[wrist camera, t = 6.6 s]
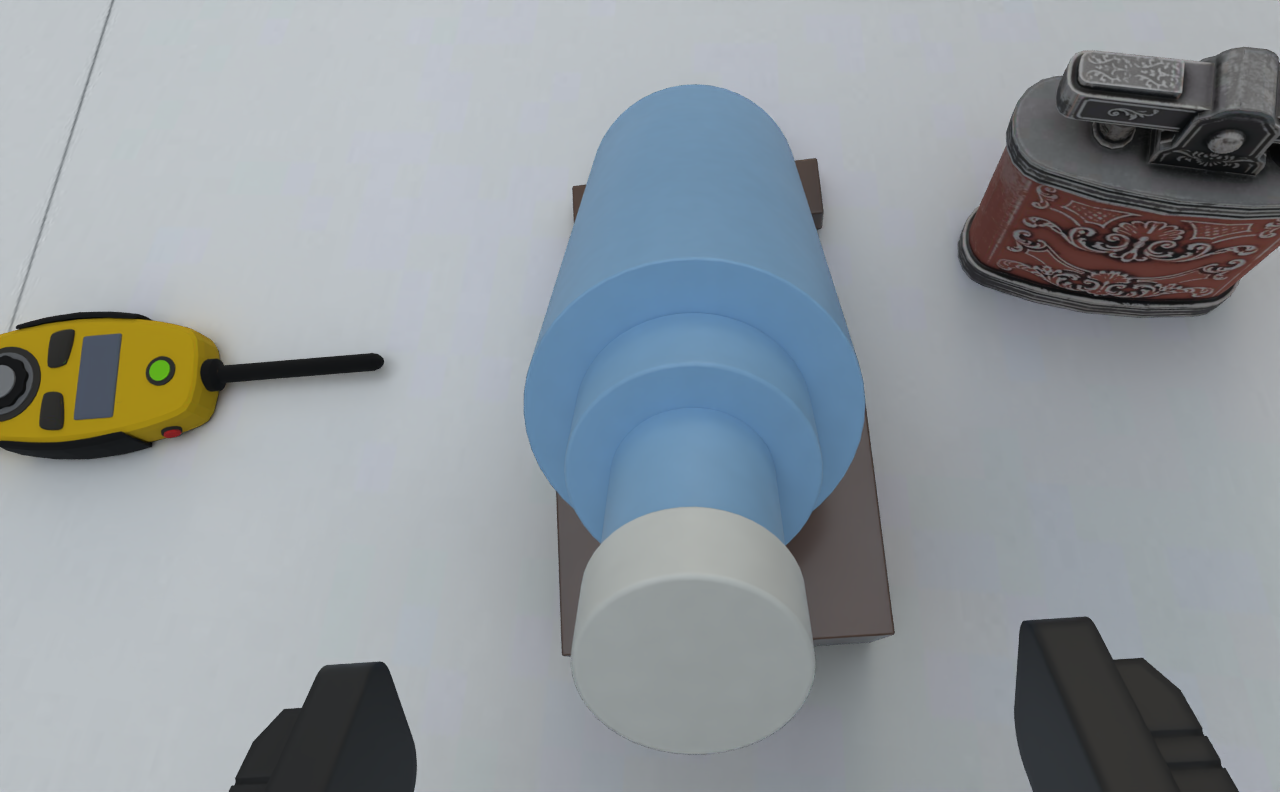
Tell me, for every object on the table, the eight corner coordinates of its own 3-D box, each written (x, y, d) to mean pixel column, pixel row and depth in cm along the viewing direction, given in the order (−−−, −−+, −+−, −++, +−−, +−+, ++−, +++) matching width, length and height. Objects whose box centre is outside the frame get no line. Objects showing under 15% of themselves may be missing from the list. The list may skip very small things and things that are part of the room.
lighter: (1232, 231, 30) (1443, 28, 21) (1225, 333, 30) (1441, 170, 20) (964, 196, 32) (1048, -10, 22) (950, 292, 31) (1030, 122, 22)
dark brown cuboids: (815, 175, 33) (824, 77, 27) (872, 642, 29) (895, 634, 23) (578, 202, 34) (542, 112, 28) (599, 659, 29) (561, 656, 24)
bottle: (600, 171, 34) (428, -338, 17) (787, 149, 33) (807, -404, 16) (629, 717, 29) (426, 783, 12) (850, 705, 28) (974, 755, 11)
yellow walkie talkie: (-54, 318, 33) (372, 278, 32) (-11, 336, 35) (394, 299, 33) (-76, 458, 32) (367, 424, 30) (-30, 470, 34) (390, 438, 32)
